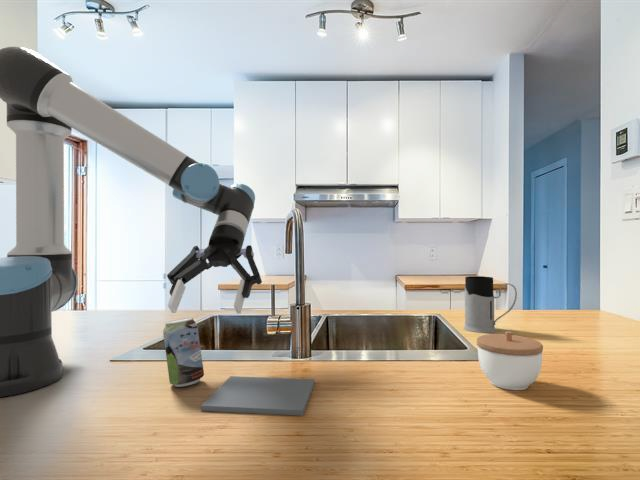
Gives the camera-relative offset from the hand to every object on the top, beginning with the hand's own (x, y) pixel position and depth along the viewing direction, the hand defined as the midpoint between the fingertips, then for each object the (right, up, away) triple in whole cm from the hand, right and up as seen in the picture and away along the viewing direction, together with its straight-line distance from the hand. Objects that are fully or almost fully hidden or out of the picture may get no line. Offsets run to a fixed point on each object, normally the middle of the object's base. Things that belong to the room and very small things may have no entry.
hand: (203, 309), depth 77 cm
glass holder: (+71, -12, +33) cm, 80 cm away
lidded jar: (+57, -12, -7) cm, 59 cm away
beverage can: (-2, -13, -6) cm, 14 cm away
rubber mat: (+13, -13, -12) cm, 22 cm away
